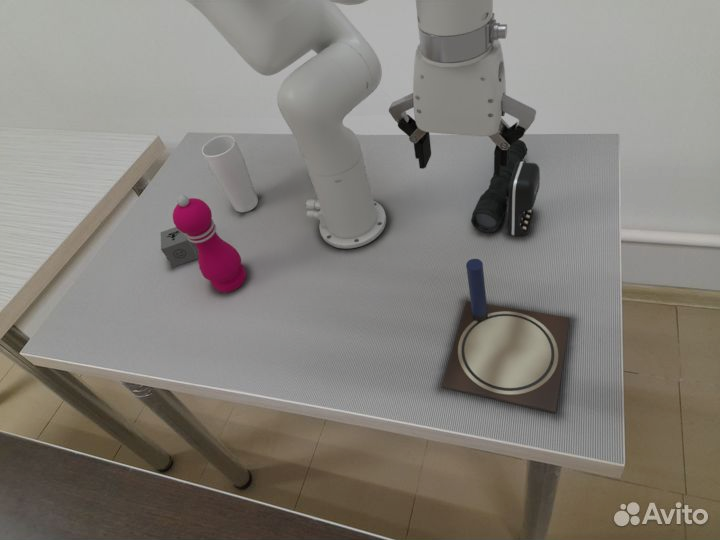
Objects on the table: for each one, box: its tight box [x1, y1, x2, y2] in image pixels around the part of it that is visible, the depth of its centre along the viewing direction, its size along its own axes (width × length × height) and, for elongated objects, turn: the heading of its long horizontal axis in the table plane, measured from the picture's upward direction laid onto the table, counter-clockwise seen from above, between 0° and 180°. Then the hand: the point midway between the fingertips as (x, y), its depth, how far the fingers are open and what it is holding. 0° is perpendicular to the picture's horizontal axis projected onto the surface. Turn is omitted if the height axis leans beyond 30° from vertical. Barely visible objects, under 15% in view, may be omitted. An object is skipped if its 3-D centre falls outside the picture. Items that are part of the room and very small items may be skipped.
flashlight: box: [470, 139, 529, 234], centre depth 94 cm, size 5×21×5 cm, turn 155°
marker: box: [465, 258, 488, 322], centre depth 75 cm, size 2×2×11 cm
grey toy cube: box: [160, 226, 199, 268], centre depth 100 cm, size 5×5×5 cm
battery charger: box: [507, 160, 541, 236], centre depth 85 cm, size 7×4×11 cm, turn 157°
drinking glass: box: [201, 134, 259, 214], centre depth 103 cm, size 7×7×15 cm
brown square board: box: [441, 300, 570, 414], centre depth 74 cm, size 15×15×1 cm
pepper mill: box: [172, 194, 247, 293], centre depth 88 cm, size 7×7×20 cm
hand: (461, 165), depth 67 cm, fingers open, 9 cm apart
